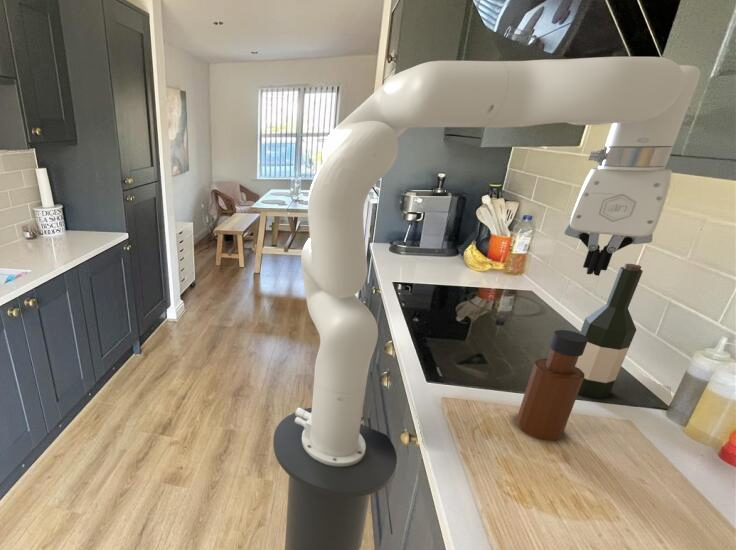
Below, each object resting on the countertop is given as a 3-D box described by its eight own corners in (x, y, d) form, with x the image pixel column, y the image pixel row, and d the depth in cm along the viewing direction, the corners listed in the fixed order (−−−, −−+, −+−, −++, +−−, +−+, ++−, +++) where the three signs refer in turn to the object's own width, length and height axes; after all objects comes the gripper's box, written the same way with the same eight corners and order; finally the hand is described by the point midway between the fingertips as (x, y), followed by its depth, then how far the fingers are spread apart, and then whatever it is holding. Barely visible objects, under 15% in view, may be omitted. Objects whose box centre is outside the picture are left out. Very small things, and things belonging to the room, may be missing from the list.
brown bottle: (513, 429, 80) (539, 351, 73) (518, 411, 85) (542, 337, 78) (560, 446, 76) (591, 364, 69) (562, 426, 81) (591, 348, 74)
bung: (544, 362, 74) (553, 336, 72) (546, 352, 78) (555, 327, 76) (577, 371, 71) (588, 344, 69) (578, 360, 75) (588, 334, 73)
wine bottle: (558, 387, 93) (602, 265, 82) (566, 374, 98) (608, 257, 87) (605, 403, 87) (660, 274, 76) (611, 388, 92) (663, 265, 81)
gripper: (569, 159, 63) (536, 270, 70) (710, 161, 54) (657, 288, 61) (571, 158, 68) (540, 260, 75) (700, 159, 59) (652, 276, 66)
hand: (592, 272), depth 68 cm, fingers closed
